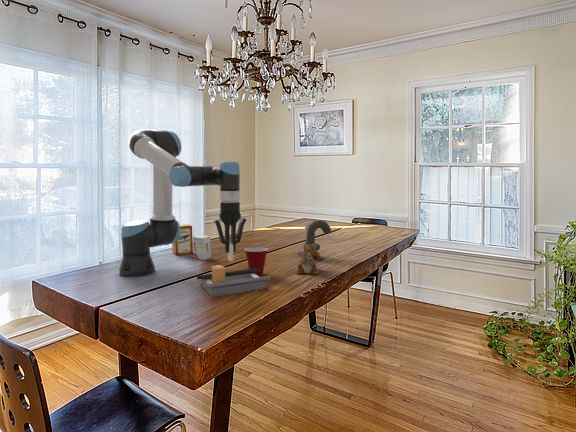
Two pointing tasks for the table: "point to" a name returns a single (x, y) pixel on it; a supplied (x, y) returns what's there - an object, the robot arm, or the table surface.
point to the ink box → (201, 247)
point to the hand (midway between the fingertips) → (230, 260)
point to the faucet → (311, 235)
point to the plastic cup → (256, 258)
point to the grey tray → (235, 280)
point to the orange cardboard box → (183, 241)
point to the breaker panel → (234, 288)
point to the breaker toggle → (218, 273)
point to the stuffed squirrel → (308, 260)
